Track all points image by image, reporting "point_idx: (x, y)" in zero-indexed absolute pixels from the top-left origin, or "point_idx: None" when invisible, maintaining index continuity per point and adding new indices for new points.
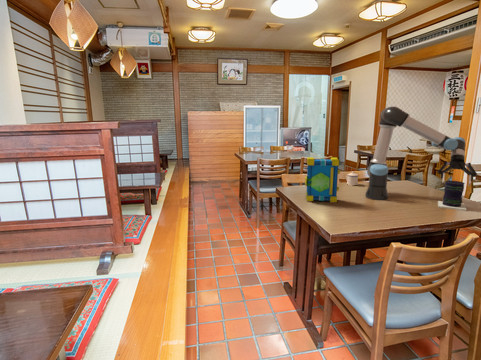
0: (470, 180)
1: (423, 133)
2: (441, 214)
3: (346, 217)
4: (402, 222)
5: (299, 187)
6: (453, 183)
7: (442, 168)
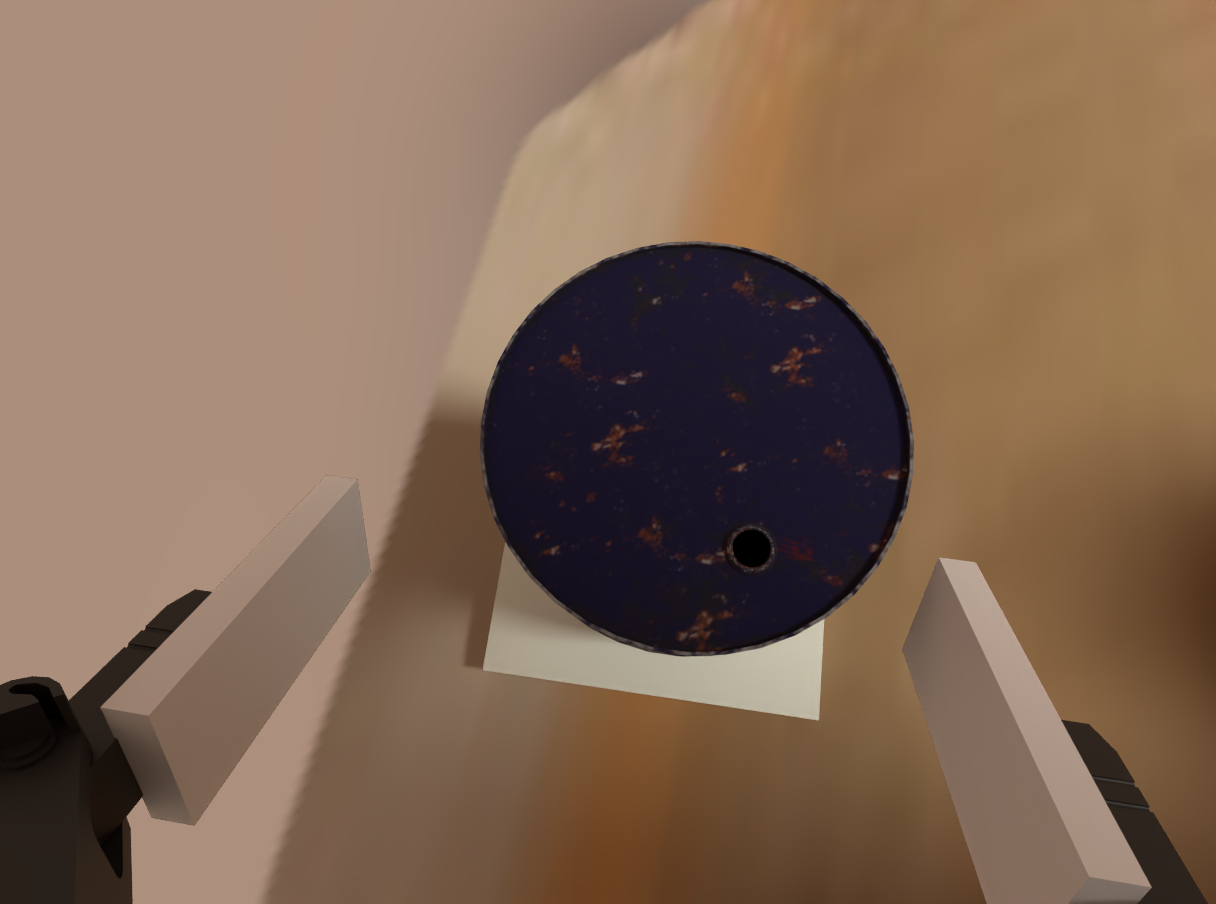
0: (282, 529)
1: None
2: (827, 134)
3: None
4: None
5: None
6: (754, 252)
7: None
